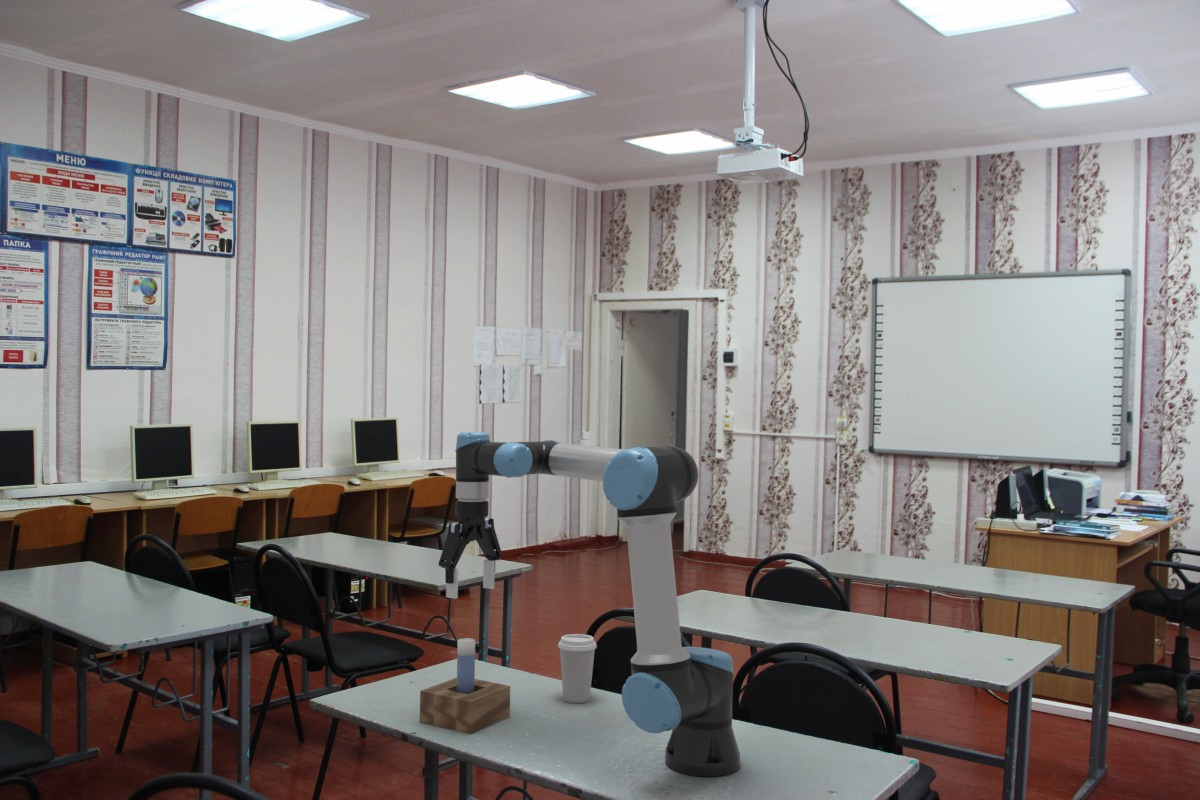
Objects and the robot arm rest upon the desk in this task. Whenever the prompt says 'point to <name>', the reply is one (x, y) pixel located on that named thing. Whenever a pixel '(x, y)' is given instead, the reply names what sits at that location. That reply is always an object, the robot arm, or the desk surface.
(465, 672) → the marker
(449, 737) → the desk surface
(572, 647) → the coffee cup
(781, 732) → the desk surface
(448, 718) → the socket block
